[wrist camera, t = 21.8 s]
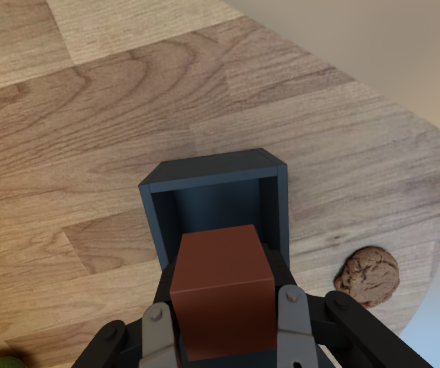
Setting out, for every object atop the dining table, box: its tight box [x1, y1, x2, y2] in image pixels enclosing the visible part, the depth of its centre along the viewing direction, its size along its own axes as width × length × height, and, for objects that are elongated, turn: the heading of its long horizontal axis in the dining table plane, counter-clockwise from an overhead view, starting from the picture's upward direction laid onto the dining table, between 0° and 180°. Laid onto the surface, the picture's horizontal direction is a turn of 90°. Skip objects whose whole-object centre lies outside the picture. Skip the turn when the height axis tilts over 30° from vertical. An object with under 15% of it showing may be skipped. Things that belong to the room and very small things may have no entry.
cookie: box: [335, 247, 400, 309], centre depth 32 cm, size 10×11×3 cm
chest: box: [138, 148, 290, 272], centre depth 24 cm, size 17×13×9 cm
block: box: [169, 224, 277, 361], centre depth 12 cm, size 5×5×5 cm
